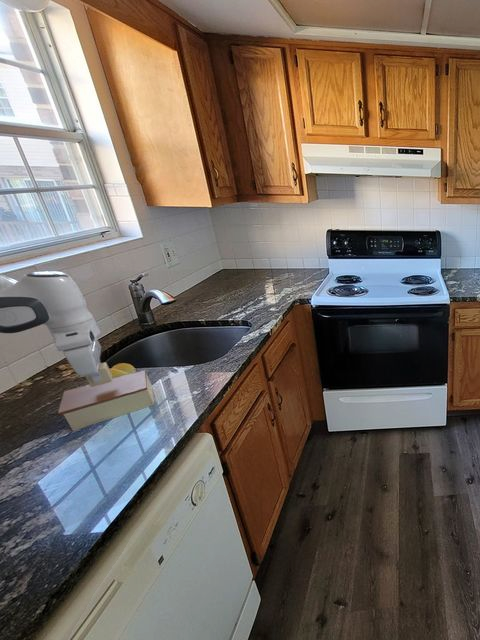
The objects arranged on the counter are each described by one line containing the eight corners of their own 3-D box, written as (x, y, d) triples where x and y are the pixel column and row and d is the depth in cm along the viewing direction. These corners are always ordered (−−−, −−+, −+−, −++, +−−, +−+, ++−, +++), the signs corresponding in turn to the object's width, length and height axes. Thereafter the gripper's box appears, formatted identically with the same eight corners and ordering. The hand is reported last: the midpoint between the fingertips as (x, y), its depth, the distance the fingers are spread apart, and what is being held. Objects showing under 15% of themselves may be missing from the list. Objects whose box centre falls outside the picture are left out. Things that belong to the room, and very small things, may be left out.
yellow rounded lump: (96, 383, 119) (90, 372, 117) (124, 369, 127) (119, 359, 125) (115, 385, 117) (110, 374, 116) (142, 371, 125) (137, 361, 123)
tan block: (91, 387, 100) (83, 373, 98) (92, 381, 103) (84, 367, 101) (112, 381, 102) (105, 367, 100) (112, 375, 105) (105, 362, 104)
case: (72, 430, 97) (63, 414, 94) (77, 408, 106) (69, 392, 104) (154, 404, 107) (147, 389, 104) (152, 386, 116) (145, 371, 114)
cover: (58, 415, 94) (57, 413, 94) (65, 393, 103) (64, 391, 103) (147, 389, 104) (146, 387, 104) (145, 371, 114) (145, 370, 114)
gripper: (64, 323, 102) (87, 366, 107) (54, 347, 87) (80, 396, 93) (94, 318, 105) (114, 359, 111) (89, 340, 91) (112, 387, 96)
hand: (99, 376), depth 102 cm, fingers closed on tan block, 4 cm apart
